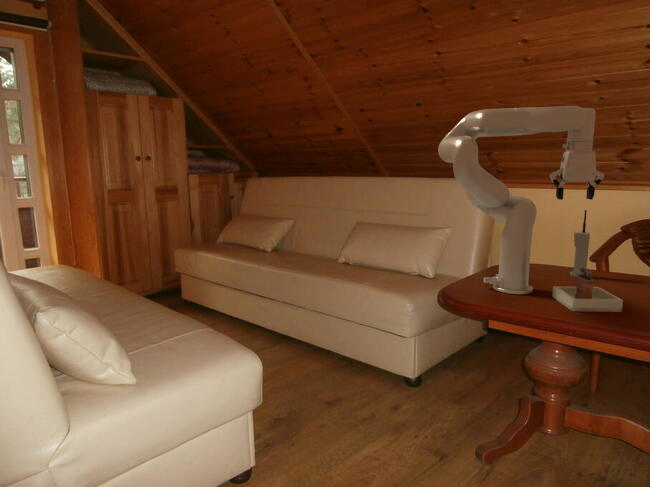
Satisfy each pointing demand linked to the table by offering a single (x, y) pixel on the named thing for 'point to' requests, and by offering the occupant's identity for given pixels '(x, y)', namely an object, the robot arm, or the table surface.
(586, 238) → the vintage mobile phone
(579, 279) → the lighter
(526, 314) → the table surface
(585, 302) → the tray
